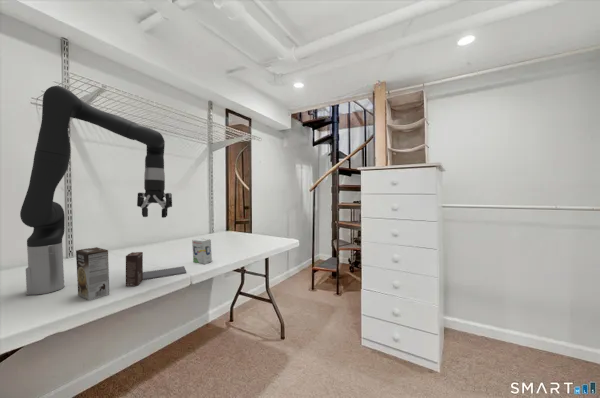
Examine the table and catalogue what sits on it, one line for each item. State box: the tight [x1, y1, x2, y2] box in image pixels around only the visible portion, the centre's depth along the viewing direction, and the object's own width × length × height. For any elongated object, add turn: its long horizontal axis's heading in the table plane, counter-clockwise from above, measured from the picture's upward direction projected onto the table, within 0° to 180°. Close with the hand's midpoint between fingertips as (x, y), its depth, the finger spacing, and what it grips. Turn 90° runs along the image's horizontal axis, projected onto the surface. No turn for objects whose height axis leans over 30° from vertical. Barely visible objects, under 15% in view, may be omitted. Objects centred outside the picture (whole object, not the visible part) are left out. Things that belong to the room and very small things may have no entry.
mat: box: [143, 265, 187, 281], centre depth 112 cm, size 17×10×1 cm, turn 120°
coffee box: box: [75, 247, 110, 301], centre depth 89 cm, size 9×6×16 cm
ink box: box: [191, 237, 213, 265], centre depth 129 cm, size 9×5×12 cm, turn 62°
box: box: [125, 251, 144, 288], centre depth 100 cm, size 6×4×12 cm
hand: (154, 217), depth 108 cm, fingers open, 8 cm apart
